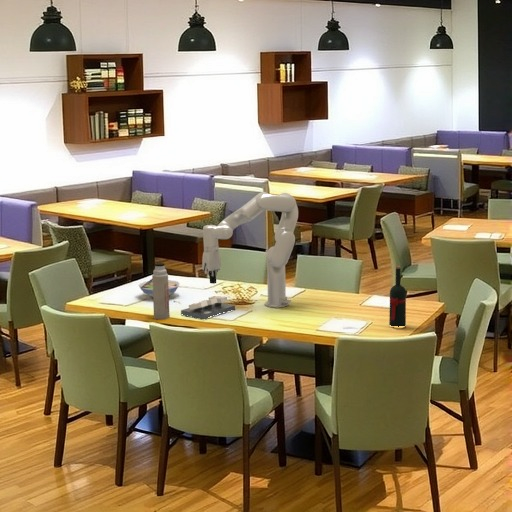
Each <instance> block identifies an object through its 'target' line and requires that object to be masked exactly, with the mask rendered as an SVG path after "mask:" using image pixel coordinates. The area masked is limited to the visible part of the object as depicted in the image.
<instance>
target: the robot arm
mask: <svg viewBox="0 0 512 512" xmlns="http://www.w3.org/2000/svg"><path fill="white" fill-rule="evenodd" d="M264 211H269V212H281V216H280V221H279V223H278V225H277V228H276V231H275V233H274V241H275V243H274V245H273V246H271V247H269V249H268V250H267V251H266V268H267V269H266V271H267V274H266V275H267V280H266V281H267V301H265V303H264V306H266V307H268V308H274V307H275V309H276V308H285V306H286V307H288V306H289V305H290V304H291V301H292V300H290V299H288V296H286V295H287V294H286V293H287V292H286V291H287V290H286V265H287V263H288V262H289V259H290V257H291V254H292V252H293V249H294V246H295V243H296V237H295V234H294V231H295V229H296V226H297V222H298V219H299V208H298V204H297V201H296V198H295V197H294V196H293V195H291V194H290V193H288V192H281V193H280V194H271V193H268V192H267V191H262V192H261V191H260V192H258V194H256V195H255V196H254V197H252V198H251V199H250V200H249V201H248V202H246V203H245V204H244V205H242V206H241V207H240V208H238V209H236V211H233V212H232V213H231V214H229V215H228V216H226V217H225V218H223V220H221V222H219V224H217V225H215V224H207V225H204V226H203V227H202V233H203V234H202V238H203V253H202V264H201V265H202V267H201V268H202V271H204V274H205V275H208V276H209V284H213V285H214V284H217V276H218V272H220V270H221V268H222V260H221V254H220V250H219V247H220V245H219V240H229V239H230V238H231V237H232V236H233V233H234V232H233V231H234V230H235V229H236V228H237V227H239V226H241V225H242V224H245V223H249V222H251V221H253V220H254V219H255V218H256V217H258V216H259V215H260V214H261V213H262V212H264Z"/></svg>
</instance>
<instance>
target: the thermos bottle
mask: <svg viewBox="0 0 512 512" xmlns="http://www.w3.org/2000/svg"><path fill="white" fill-rule="evenodd" d="M152 273H153V274H151V275H152V277H151V279H152V282H153V297H152V301H153V306H152V307H153V319H156V320H166V319H169V318H170V314H171V313H170V295H169V287H168V280H169V273H167V269H166V268H165V263H164V262H163V263H162V262H158V263H157V262H156V263H154V269H153V271H152Z"/></svg>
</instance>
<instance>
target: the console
mask: <svg viewBox="0 0 512 512" xmlns="http://www.w3.org/2000/svg"><path fill="white" fill-rule="evenodd" d="M231 310H234V311H236V305H234V304H230V303H226V302H223V303H215V304H211V305H208V306H204V307H201V308H196V309H191V310H190V309H189V307H187V308H184V309H181V310H180V315H181V314H183V315H188V316H192V317H191V318H193V317H196V318H195V319H197V318H200V319H199V320H202V319H205V320H207V319H206V318H208V317H210V316H213V315H217V314H219V313H223V312H227V311H231ZM231 312H232V311H231ZM183 315H182V316H183ZM188 316H187V317H188ZM208 319H209V318H208Z"/></svg>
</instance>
